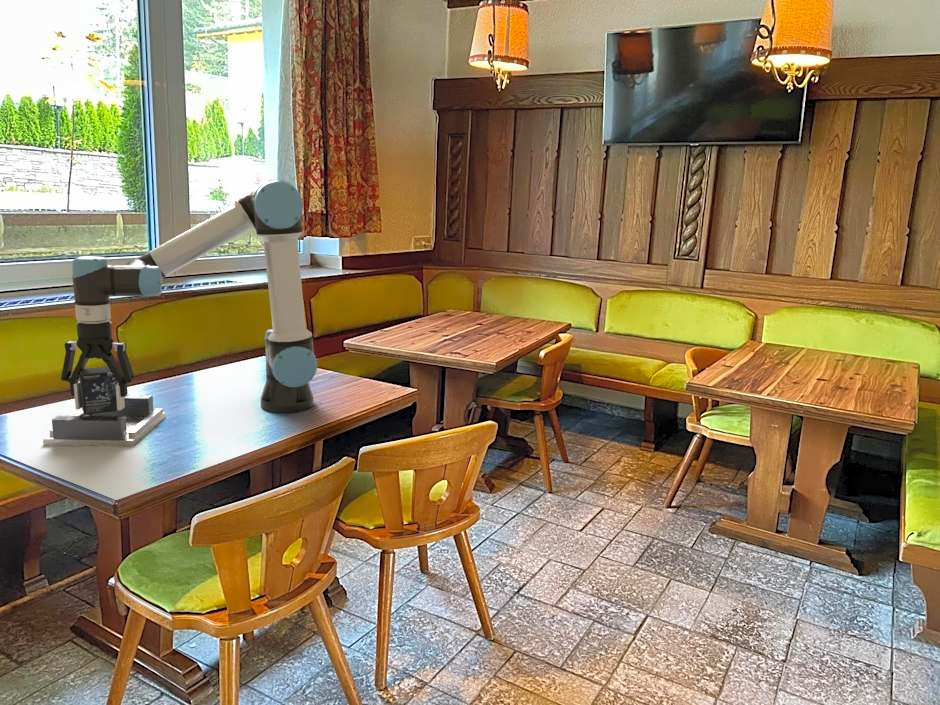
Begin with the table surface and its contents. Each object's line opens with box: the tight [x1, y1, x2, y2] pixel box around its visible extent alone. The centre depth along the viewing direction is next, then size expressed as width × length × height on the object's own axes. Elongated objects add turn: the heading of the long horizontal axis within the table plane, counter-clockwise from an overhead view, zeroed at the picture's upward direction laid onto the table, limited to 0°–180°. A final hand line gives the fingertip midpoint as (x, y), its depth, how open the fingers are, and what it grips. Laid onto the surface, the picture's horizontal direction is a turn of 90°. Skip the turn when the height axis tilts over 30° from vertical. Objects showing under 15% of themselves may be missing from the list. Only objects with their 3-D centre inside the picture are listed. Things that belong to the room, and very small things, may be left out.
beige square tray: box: [42, 407, 166, 447], centre depth 180 cm, size 21×22×6 cm
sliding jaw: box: [88, 394, 155, 416], centre depth 187 cm, size 16×3×5 cm, turn 94°
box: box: [79, 366, 119, 415], centre depth 175 cm, size 8×6×11 cm
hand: (100, 408), depth 176 cm, fingers closed on box, 9 cm apart
